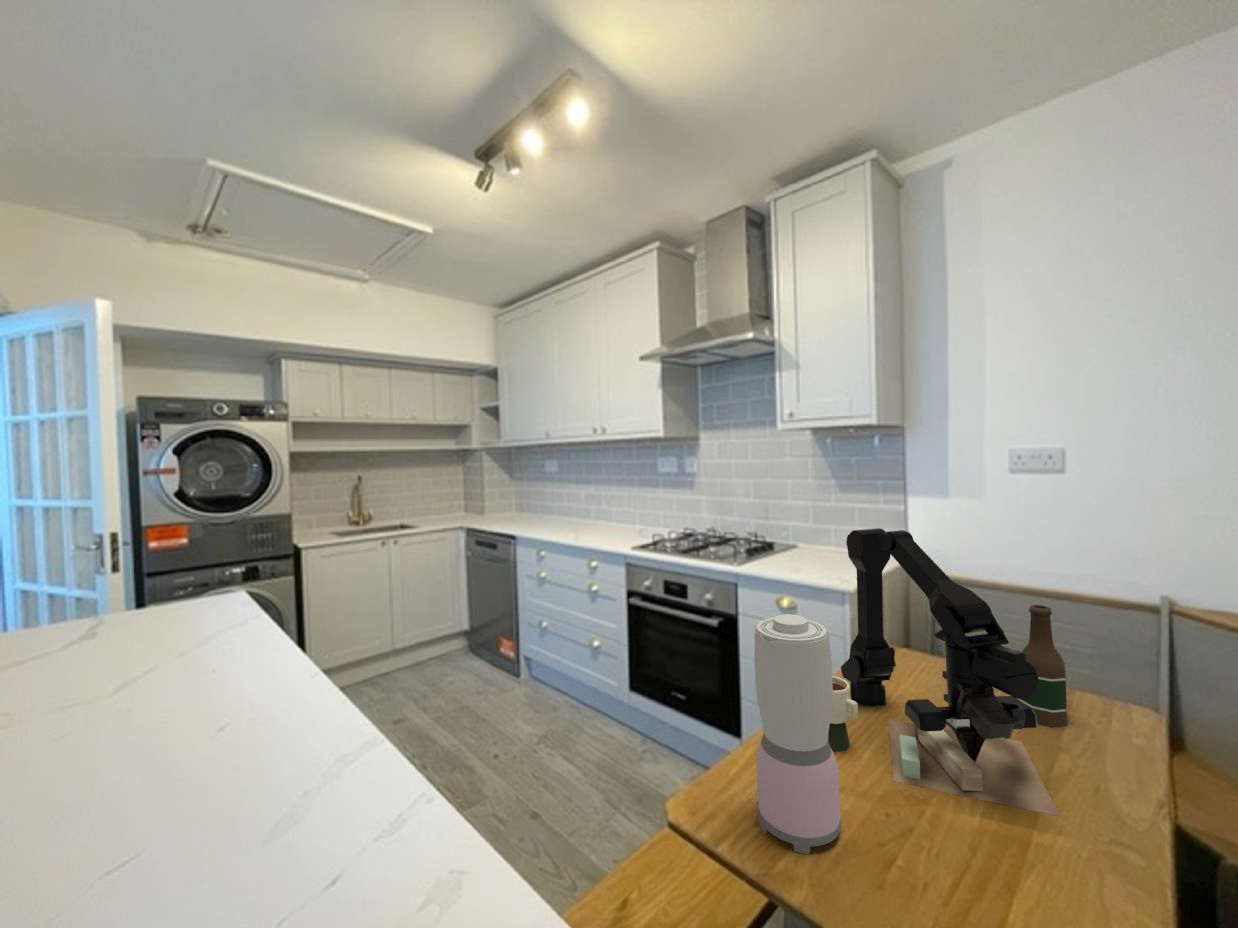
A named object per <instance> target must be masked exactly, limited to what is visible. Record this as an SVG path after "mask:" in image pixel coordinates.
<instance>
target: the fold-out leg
mask: <svg viewBox="0 0 1238 928" xmlns="http://www.w3.org/2000/svg"><path fill="white" fill-rule="evenodd" d="M915 737H916V738H917V739H918V740H919V741H920V742H921V743H922V745H923V746H924V747H925V748H926V749H927V750H928V751H929V753H930V754H931V755H932V756H933V757H934V758H935V759H936V760H937V762H938V763H939V764H940V765H941V766H942V767H943V768H944V770H945V771H946V772H947V773H948V774H949V775H950V776H951V777H952V779H953V780H954V781H955V782H956V783H957V784H958V785H959V787H960V788H961V789H962V790H970V791H983V788H982V769H981V768H980V767H979V766H978V765H977V764H976V763H975V762H974V761H973V760H972V759H971V758H970V757H969V756H968V755H967V754H966V753H965V752H964V751H963V750H962V749H961V748H960V747H959V746H958V745H957V744H956V743H955V742H954V741H953V740H952V739H951V738H950V737H949V736H948V735H947V734H946V733H945V732H944V731H943V730H942V731H926V732H925V731H922V730H920V729H919V728H918V727H917V726H916V725H915Z"/></svg>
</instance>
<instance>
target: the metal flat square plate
mask: <svg viewBox="0 0 1238 928" xmlns="http://www.w3.org/2000/svg"><path fill="white" fill-rule="evenodd" d="M887 721H888V730H889V731H888V732H889V733H888V734H889V744H890V757H891V767H892V768H891V769H892V780H893V781H892V782H893V783H894V782H895V783H899V784H904V785H909V786H913V787H919V788H923V789H928V790H933V791H937V792H942V793H946V794H952V795H955V796H961V797H966V798H971V799H976V800H980V801H985V802H989V803H993V804H999V805H1005V806H1009V807H1014V808H1018V809H1022V810H1028V811H1032V812H1033V811H1034V812H1037V813H1042V814H1047V815H1051V816H1056V817H1061V815H1060V813H1059V811H1058V809H1057V807H1056V805H1055V803H1054V802H1053V799H1052V798H1051V795H1050V793H1049V791H1048V789H1047V788H1046V786H1045V783H1044V782H1043V780H1042V778H1041V776H1040V775H1039V772H1038V770H1037V768H1036V766H1035V765H1034V762H1033V761H1032V759H1031V757H1030V754H1029V753H1028V751H1027V750H1026V747H1025V746H1024V743H1023V742H1022V741H1020V740H1016V739H1015V740H1014V739H1010V738H1008V739H1005V738H993V739H986V740H985V741H984V743H983V745H982V747H981V750H980V752H979V755H978V757H977V759H976V762H975V763H976V764H977V765H978V766H979V767H980V768H981V769H982V788H983V791H970V790H962V789H961V788H960V787H959V785H958V784H957V783H956V782H955V781H954V780H953V779H952V777H951V776H950V775H949V774H948V773H947V772H946V771H945V770H944V768H943V767H942V766H941V765H940V764H939V763H938V762H937V760H936V759H935V758H934V757H933V756H932V755H931V754H930V753H929V751H928V750H927V749H926V748H925V747H924V746H923V745H922V743H921V742H920V741H919V740H918V739H917V738H916V743H917V749H918V755H919V761H920V780H919V779H914V778H909V777H904V776H903V774H902V765H901V756H900V738H899V734H900V735H905V736H911V737H915V724H914V723H913V722H912V723H910V722H905V721H900V720H892V719H888V720H887ZM943 731H944V732H945V733H946V734H947V735H948V736H949V737H950V738H951V739H952V740H953V741H954V742H955V743H956V744H957V745H958V746H959V747H960V748H961V749H962V747H961V745H960V743H959V741H958V739H957V737H956V735H955V733H954V732H953V730H952V729H947V728H944V729H943ZM962 750H963V749H962Z"/></svg>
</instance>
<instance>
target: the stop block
mask: <svg viewBox="0 0 1238 928" xmlns="http://www.w3.org/2000/svg"><path fill="white" fill-rule="evenodd" d="M899 738H900V756H901V765H902V774H903V776H904V777H909V778H914V779H919V780H920V761H919V755H918V749H917V743H916V737H911V736H905V735H900V734H899Z"/></svg>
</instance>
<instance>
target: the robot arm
mask: <svg viewBox="0 0 1238 928" xmlns="http://www.w3.org/2000/svg"><path fill="white" fill-rule="evenodd" d="M845 544H846V548H847V553H848V555H847V556H848V558H849V560H850V561H851V563H852V565H853V567H855V570H856V597H857V598H856V599H857V605H856V606H857V635H856V636H855V638H854V640H853V641H852V643H851V645H850V647H849V648H850V649H849V658H848V659H847V660H846V661H845V662H844V663H843V664H842V665H841V666H840V670H841V675H842V678H843V679H845V680H846V681H847V682H849V685H850V696H851V700H853V701H855V702H856V703H857V704H858V705H862V706H865V707H877V706H881V707H882V706H886V705H887V702H886V699H887V698H886V687H885V686H886V685H884V684H883V681H884V682H885V681H890V680H891V677H892V674H893V672H894V669H895V668H896V666H897V665H896V659H895V655H896V651H895V648H894V647H891V646H890V645H889V643H888V642H887V641H886V639H885V636H884V597H883V596H884V593H883V589H884V587H883V571H884V569H885V568H886V566H887V564H888V563H889V561H890V560H891V556H892V558H893V559H894V560H895V561H896V562H897V563H898V565H900V567H901V568H902V570H904V572H905V573H906V574H907V575H908V576H909V577H910V578H911V579H912V581H913V582H914V583H915V584H916V585H917V586H918V588H919V589H920V590H921V591H922V592H923V593H924V594H925V596H926V598H927V599H928V605H929V611H930V612H931V614H932V616H934V619H935V620H936V621H937V622H936V623H938V625H939V626H940V627H941V629H939V631H937V632H935V633H934V637H935V638H936V639H938V640H941V641H943V642H944V651H945V669H946V670H942V678H944V680H946V686H947V687H946V688H947V693H944V694H943V700H944V701H945V702H946V703H947V705H948V706H936V705H935V704H934V703H933V702H932V701H931V700H930V699H928V698H924V699H923V698H922V699H908V700H907V701H906V702H905V704H904V715H905V716H906V717H907V718H908V719H909V720H910V721H911V722H912V724H915V725H916V726H917V727H918V728H919V729H920V730H922V731H925V732H926V731H942V730H943V729H946V727H949V728H950V730H953V732H954V733H955V735H956V737H957V739H958V741H959V743H960V745H961V747H962V749H963V751H964V752H965V753H966V754H967V755H968V756H969V757H970V758H971V759H972V760H973V761H974V762H976V759H977V757H978V755H979V752H980V750H981V747H982V745H983V743H984V741H985V740H986V739H993V738H1003V739H1011V738H1012V735H1013V732H1014V730H1015V731H1017V730H1023V729H1035V728H1037V727H1038V724H1037V716H1036V714H1035V712H1034V711H1033V710H1032V709H1031V708H1030V707H1028V706H1027V705H1025V704H1024V703H1023V702H1021V701H1020V700H1019V699H1026V698H1028V697H1030V696H1031V695H1032V694H1033V693H1034V692H1035V690H1036V688H1037V685H1038V674H1037V673H1036V670H1035V668H1034V667H1033V666H1032V665H1031V664H1030V663H1029V662H1027V661H1026V655H1025V653H1023V652H1022V651H1020V650H1017V649H1012V648H1009V647H1006V646H1005V645H1009V643H1010V642H1009V640H1008V638H1007V637H1006V635H1005V631H1004V630H1003V629H1002V628H1001V626H1000V624H999V623H998V621H997V618H995V616H994V614H993V611H992V610H991V607H990V606H989V604H988V603H987V602H986V601H985V600H984V599H983V598H981V597H980V596H979V595H977V594H976V593H975V592H974V591H973V590H971V589H969V588H968V587H965V586H963V585H960V584H958V583H956V582H954V581H953V580H952V579H951V578H950V577H949V576H948V575H947V574H946V573H945V572H944V571H943V570H942V569H941V568H940V566H938V564H936V562H935V561H934V560H933V559H932V557H930V556H929V555H928V554H927V553H926V552H925V551H924V550H923V548H921V546H920V545H918V543H917V542H916V541H915V540H914V537H913V535H912V534H911V533H910V532H909V531H907V530H903V529H901V530H891V531H890V530H889V531H886V530H884V529H883V528H880V527H879V528H878V527H877V528H876V527H875V528H867V529H866V528H865V529H855V530H852V531H851V532H850V533H849V534H847V537H846V543H845ZM979 632H985V633H983V634H975V635H969V634H971V633H979ZM994 689H996V690H998V691H1000V692H1002V693H1005V694H1007V695H1002V696H1001V695H1000V696H999V695H998V696H995V690H994Z"/></svg>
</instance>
